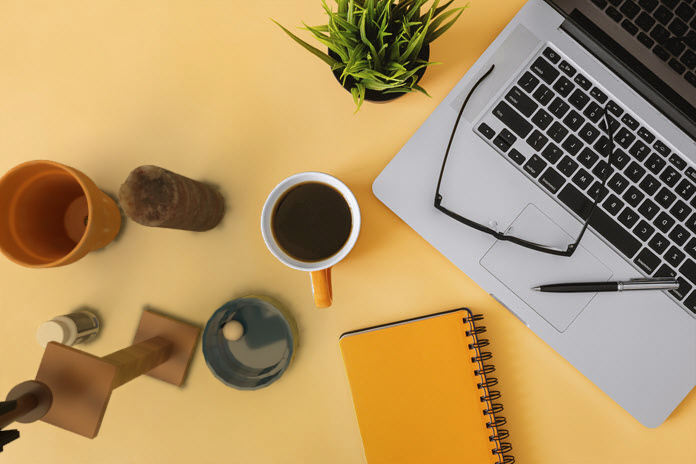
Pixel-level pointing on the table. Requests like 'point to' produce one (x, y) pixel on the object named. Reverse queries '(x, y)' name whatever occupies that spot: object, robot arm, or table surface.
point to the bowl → (251, 342)
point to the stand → (112, 371)
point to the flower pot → (53, 215)
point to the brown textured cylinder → (170, 200)
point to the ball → (233, 330)
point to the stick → (28, 403)
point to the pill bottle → (68, 329)
